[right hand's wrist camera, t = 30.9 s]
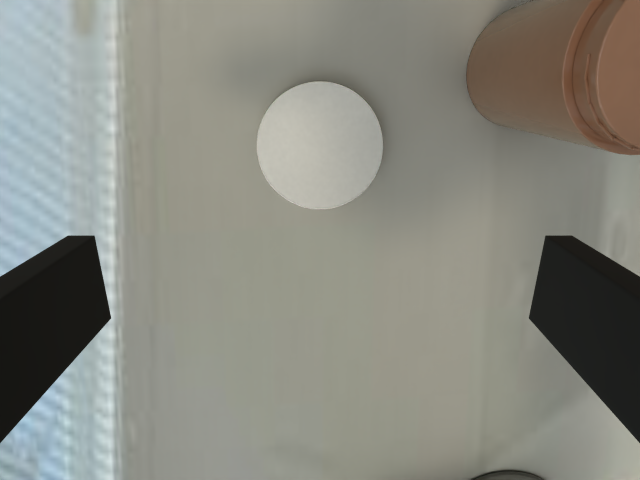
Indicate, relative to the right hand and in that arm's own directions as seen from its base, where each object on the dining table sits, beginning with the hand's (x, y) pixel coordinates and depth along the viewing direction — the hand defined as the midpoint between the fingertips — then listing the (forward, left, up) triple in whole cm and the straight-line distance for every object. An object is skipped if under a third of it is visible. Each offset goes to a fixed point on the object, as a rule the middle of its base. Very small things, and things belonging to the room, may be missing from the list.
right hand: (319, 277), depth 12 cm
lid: (0, 0, -26) cm, 26 cm away
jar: (-9, -16, -28) cm, 34 cm away
